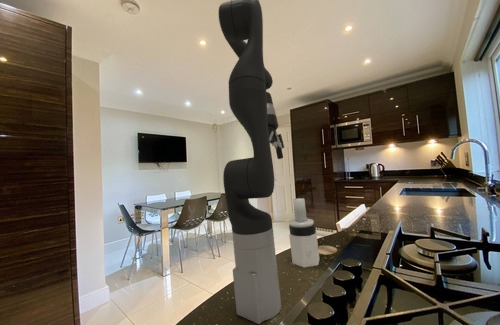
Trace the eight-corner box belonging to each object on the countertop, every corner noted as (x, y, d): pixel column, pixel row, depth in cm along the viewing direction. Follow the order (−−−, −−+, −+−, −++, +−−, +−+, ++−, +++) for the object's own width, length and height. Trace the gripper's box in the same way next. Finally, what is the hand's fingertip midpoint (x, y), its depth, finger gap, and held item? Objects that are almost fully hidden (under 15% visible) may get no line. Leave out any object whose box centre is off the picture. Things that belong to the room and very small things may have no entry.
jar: (297, 270, 61) (292, 229, 62) (288, 259, 69) (284, 223, 70) (325, 265, 62) (320, 225, 63) (314, 255, 70) (309, 219, 71)
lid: (308, 229, 61) (304, 201, 61) (285, 227, 66) (282, 201, 66) (317, 222, 67) (314, 197, 67) (296, 221, 72) (293, 197, 72)
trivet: (333, 257, 67) (332, 255, 67) (309, 253, 72) (309, 252, 72) (340, 248, 74) (339, 247, 74) (317, 245, 78) (317, 244, 79)
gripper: (264, 108, 74) (273, 151, 69) (283, 119, 85) (292, 156, 80) (248, 116, 78) (255, 157, 74) (268, 126, 89) (276, 162, 85)
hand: (274, 157), depth 77 cm, fingers open, 8 cm apart
